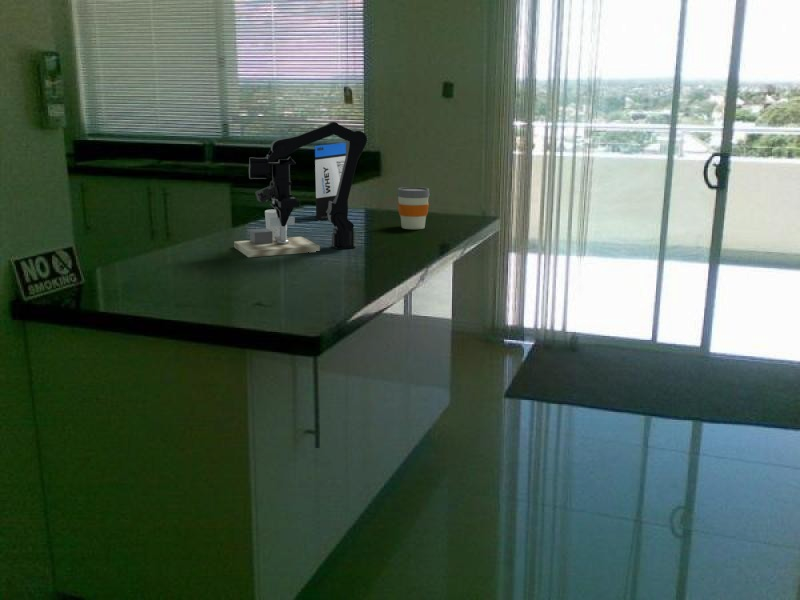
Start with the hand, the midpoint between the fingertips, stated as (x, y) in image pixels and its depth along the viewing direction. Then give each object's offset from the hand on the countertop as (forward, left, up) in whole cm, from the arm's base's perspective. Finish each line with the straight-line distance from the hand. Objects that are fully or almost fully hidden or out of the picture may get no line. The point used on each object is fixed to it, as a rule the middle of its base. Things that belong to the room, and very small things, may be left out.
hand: (282, 225), depth 263 cm
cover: (+6, -5, -6) cm, 10 cm away
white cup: (-4, -20, -8) cm, 22 cm away
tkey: (0, -2, -6) cm, 6 cm away
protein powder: (-40, -59, -8) cm, 72 cm away
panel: (+2, -1, -8) cm, 8 cm away
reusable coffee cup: (-60, -23, -8) cm, 65 cm away
